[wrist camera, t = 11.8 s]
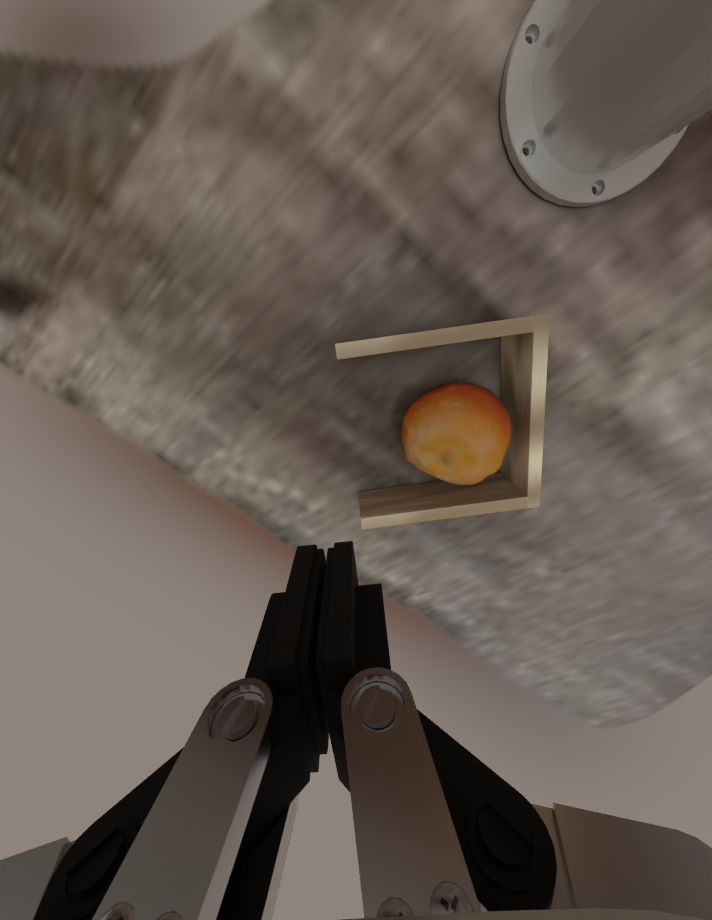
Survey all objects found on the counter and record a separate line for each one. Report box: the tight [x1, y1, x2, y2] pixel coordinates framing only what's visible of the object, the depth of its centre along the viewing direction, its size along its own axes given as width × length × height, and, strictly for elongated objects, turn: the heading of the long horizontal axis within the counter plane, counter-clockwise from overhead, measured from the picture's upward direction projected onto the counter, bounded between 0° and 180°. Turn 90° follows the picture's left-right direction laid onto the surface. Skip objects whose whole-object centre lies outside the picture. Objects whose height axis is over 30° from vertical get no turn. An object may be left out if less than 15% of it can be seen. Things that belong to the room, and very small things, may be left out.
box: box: [335, 313, 550, 530], centre depth 27 cm, size 14×14×5 cm
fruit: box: [402, 379, 511, 485], centre depth 26 cm, size 8×8×8 cm
